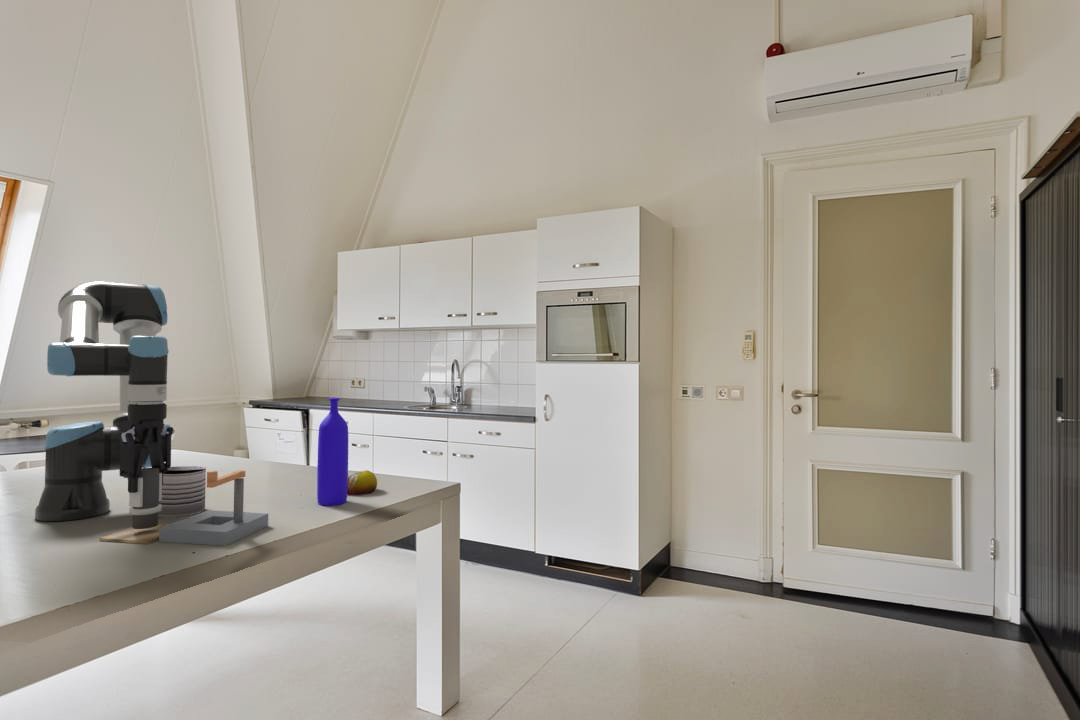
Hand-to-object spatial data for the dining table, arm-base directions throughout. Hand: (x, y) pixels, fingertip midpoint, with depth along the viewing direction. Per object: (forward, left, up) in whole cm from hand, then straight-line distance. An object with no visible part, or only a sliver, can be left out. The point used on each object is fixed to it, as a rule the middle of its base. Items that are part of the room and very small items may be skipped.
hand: (145, 503), depth 137 cm
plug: (0, 0, -5) cm, 5 cm away
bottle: (+27, +37, -7) cm, 46 cm away
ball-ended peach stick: (+21, -1, +6) cm, 22 cm away
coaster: (0, 0, -7) cm, 7 cm away
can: (-7, +20, -7) cm, 22 cm away
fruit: (+28, +52, -8) cm, 60 cm away
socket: (+15, +4, -7) cm, 17 cm away
